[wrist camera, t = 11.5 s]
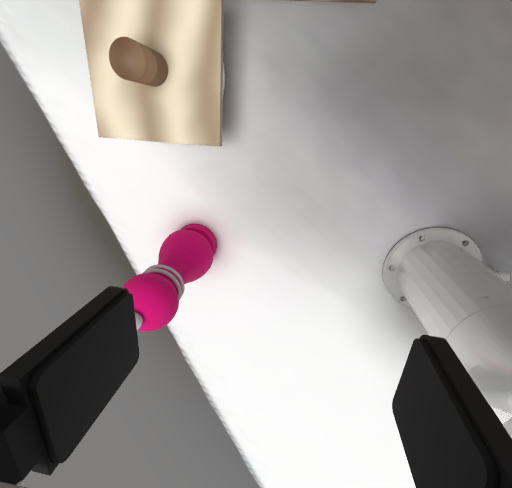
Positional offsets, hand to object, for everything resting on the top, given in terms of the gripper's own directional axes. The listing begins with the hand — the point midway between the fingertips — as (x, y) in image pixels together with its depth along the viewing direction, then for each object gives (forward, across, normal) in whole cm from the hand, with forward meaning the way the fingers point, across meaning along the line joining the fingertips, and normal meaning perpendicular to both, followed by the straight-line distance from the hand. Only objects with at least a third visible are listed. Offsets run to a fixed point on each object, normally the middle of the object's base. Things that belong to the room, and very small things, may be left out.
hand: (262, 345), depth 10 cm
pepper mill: (+32, +14, +11) cm, 36 cm away
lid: (+25, +16, -11) cm, 32 cm away
